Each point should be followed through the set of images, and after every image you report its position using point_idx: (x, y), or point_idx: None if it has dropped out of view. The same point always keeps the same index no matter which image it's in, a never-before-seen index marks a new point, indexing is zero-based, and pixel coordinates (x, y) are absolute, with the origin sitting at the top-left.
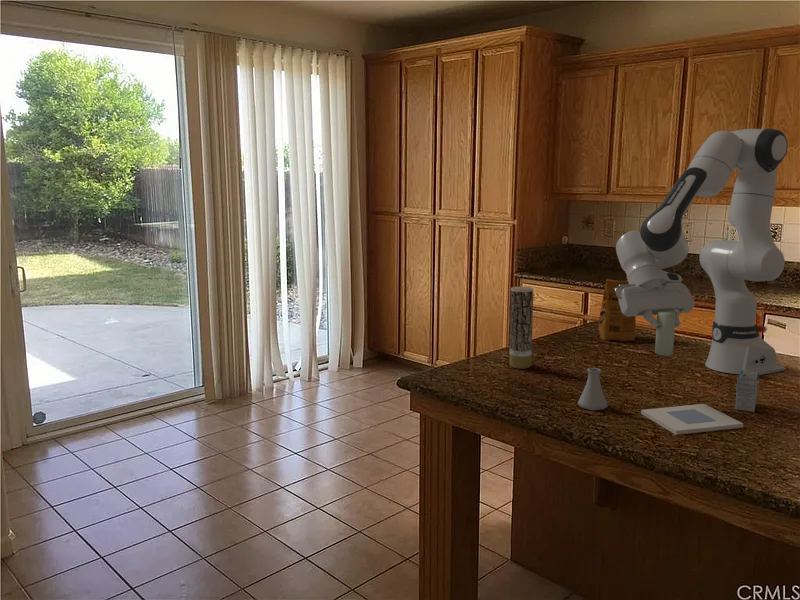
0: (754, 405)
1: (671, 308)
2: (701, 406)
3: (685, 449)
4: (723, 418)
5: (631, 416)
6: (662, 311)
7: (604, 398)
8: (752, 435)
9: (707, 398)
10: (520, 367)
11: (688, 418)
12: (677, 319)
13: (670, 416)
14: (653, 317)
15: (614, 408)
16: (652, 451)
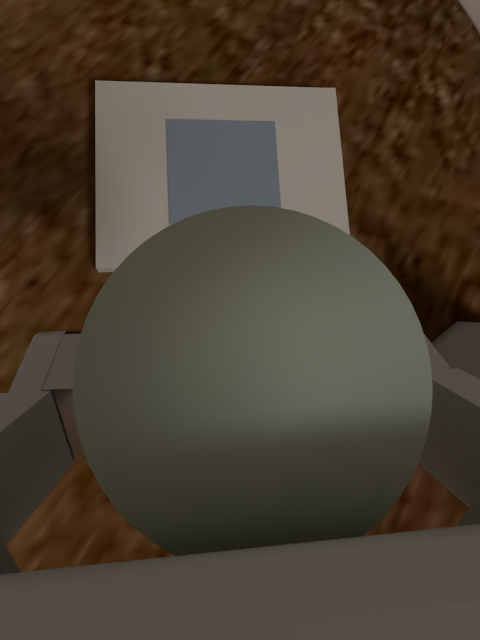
0: None
1: (6, 581)
2: (123, 245)
3: (357, 16)
4: (127, 131)
5: (387, 253)
6: (292, 493)
7: (461, 343)
8: (114, 38)
9: (11, 358)
10: None
11: (243, 156)
12: (47, 369)
13: (289, 187)
14: (467, 391)
15: None
16: (443, 29)
